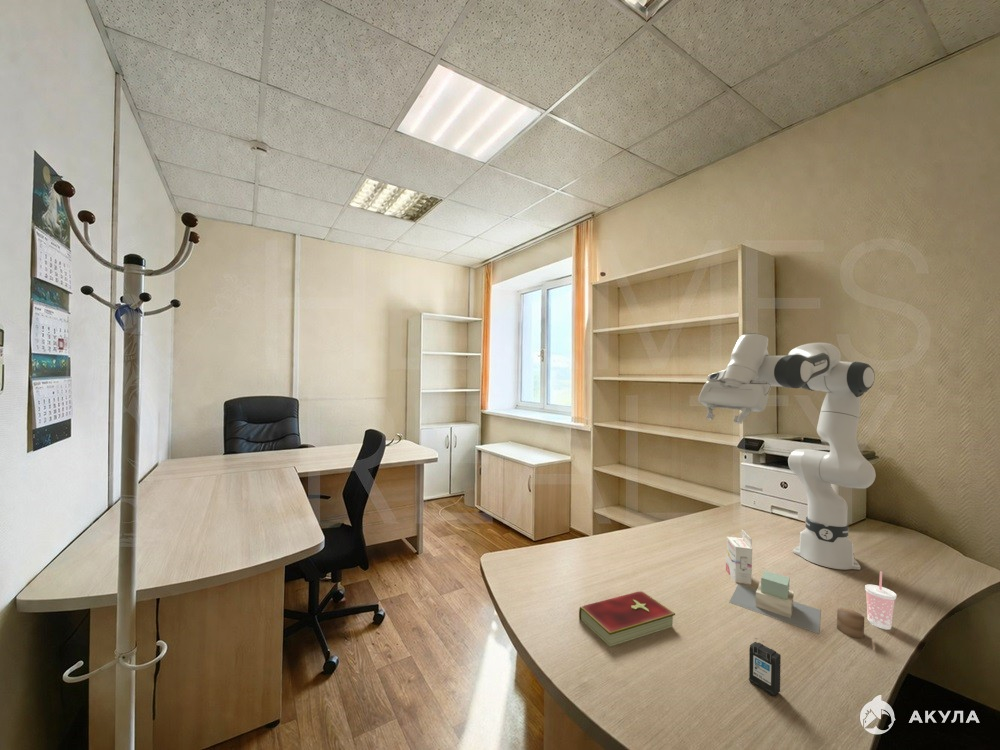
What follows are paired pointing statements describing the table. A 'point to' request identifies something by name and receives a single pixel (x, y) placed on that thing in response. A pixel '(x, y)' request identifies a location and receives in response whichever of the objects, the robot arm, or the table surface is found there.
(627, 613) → the hardcover book
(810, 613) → the mat
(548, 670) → the table surface
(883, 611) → the beverage cup
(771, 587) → the mint green block
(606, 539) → the table surface
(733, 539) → the ink cartridge box
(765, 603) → the base slab
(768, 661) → the ink cartridge
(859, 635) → the brown rounded piece
